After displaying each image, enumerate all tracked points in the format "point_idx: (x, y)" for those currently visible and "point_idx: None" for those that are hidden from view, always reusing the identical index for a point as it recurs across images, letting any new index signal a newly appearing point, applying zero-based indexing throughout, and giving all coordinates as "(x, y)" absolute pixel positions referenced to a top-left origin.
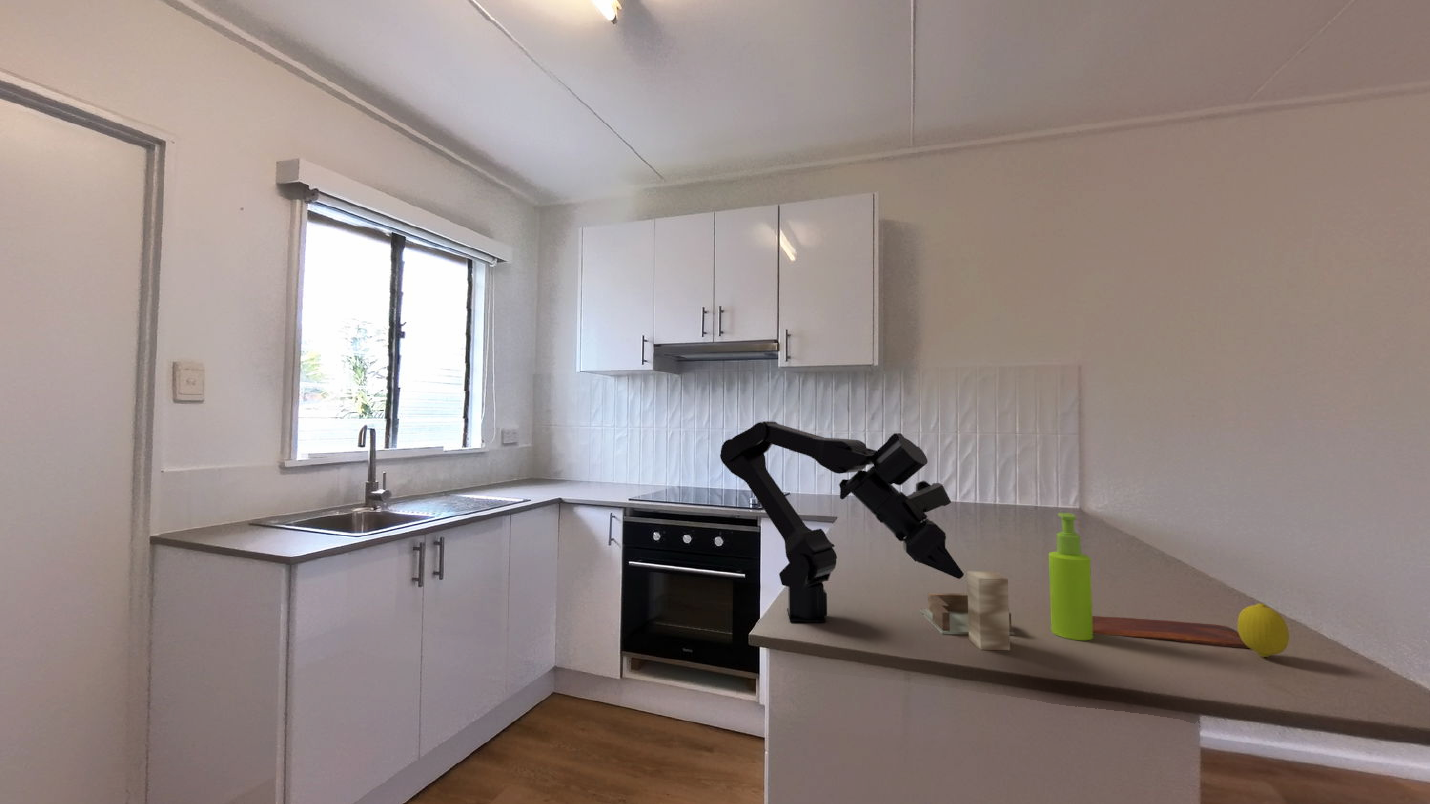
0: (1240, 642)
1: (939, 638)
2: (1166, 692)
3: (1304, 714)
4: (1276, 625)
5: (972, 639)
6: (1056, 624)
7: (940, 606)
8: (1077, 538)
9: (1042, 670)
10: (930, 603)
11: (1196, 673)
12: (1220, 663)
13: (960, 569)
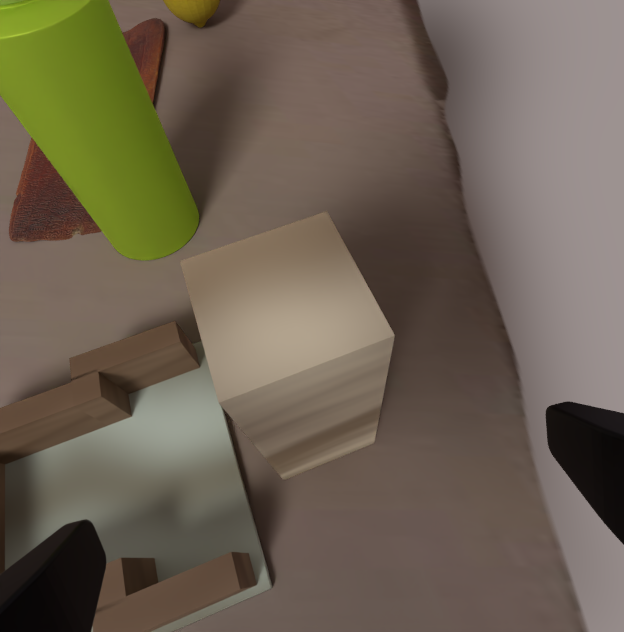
0: (159, 29)
1: (323, 597)
2: (434, 131)
3: (416, 31)
4: None
5: (312, 466)
6: (163, 234)
7: (143, 601)
8: None
9: (449, 297)
10: None
11: (314, 91)
12: (249, 64)
13: (616, 412)
